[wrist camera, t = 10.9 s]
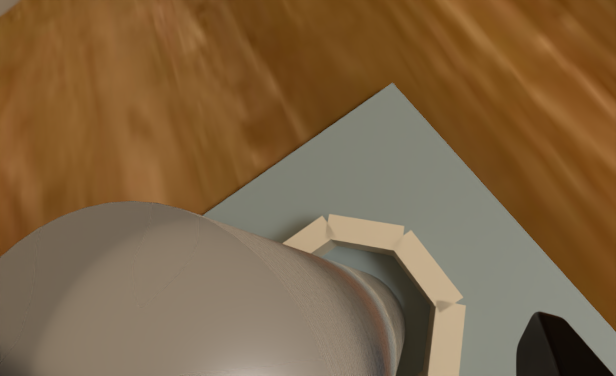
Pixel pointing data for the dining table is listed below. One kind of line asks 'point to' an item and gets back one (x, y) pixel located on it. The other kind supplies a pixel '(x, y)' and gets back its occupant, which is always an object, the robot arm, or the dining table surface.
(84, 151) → the dining table surface
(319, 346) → the silver metal cylinder
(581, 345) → the robot arm
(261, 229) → the socket board
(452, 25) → the dining table surface
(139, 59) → the dining table surface
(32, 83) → the dining table surface
